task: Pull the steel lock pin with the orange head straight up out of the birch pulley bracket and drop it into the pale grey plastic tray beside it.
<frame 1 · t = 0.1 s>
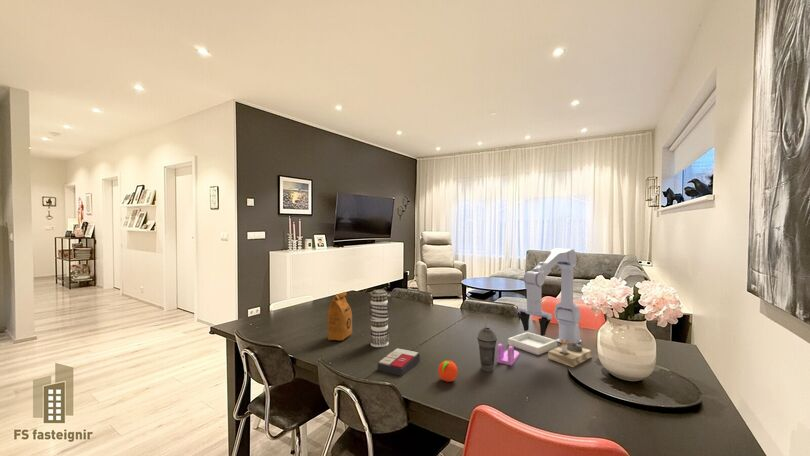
hand: (534, 332, 134), 10 cm above the table, tool pointing down, fingers open, 7 cm apart
flat product box: (399, 366, 128), on the table
bracket: (509, 359, 134), on the table
coffee package: (340, 338, 161), on the table
clementine: (447, 381, 114), on the table
tray: (532, 345, 147), on the table
grey striped cylinder: (379, 344, 152), on the table
lock pin: (564, 360, 130), resting in pulley bracket
pulley bracket: (569, 358, 133), on the table
beverage cup: (487, 369, 124), on the table
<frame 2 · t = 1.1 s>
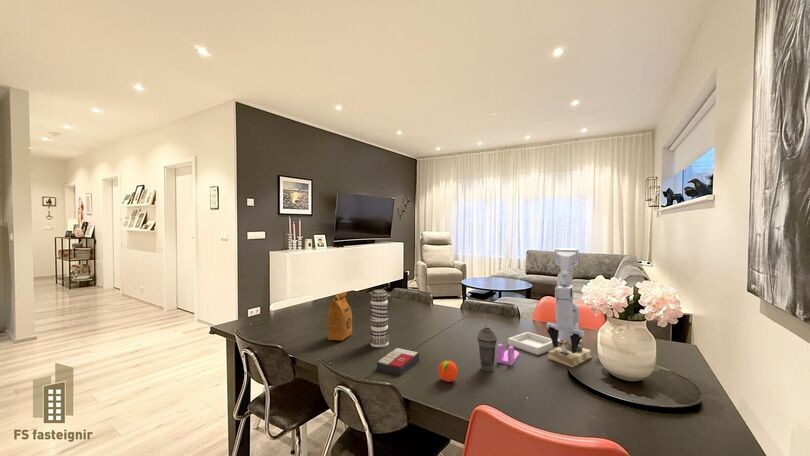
hand: (564, 349, 130), 4 cm above the table, tool pointing down, fingers open, 7 cm apart
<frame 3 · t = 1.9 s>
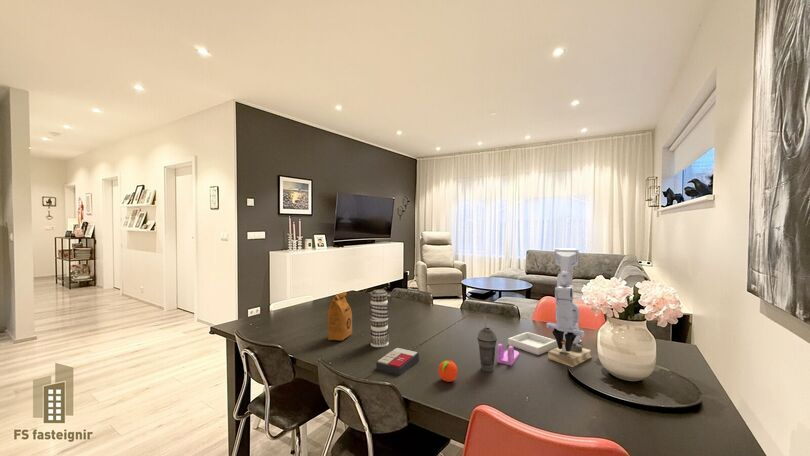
hand: (564, 349, 130), 4 cm above the table, tool pointing down, fingers closed on lock pin, 3 cm apart
lock pin: (564, 360, 130), resting in pulley bracket, touching gripper
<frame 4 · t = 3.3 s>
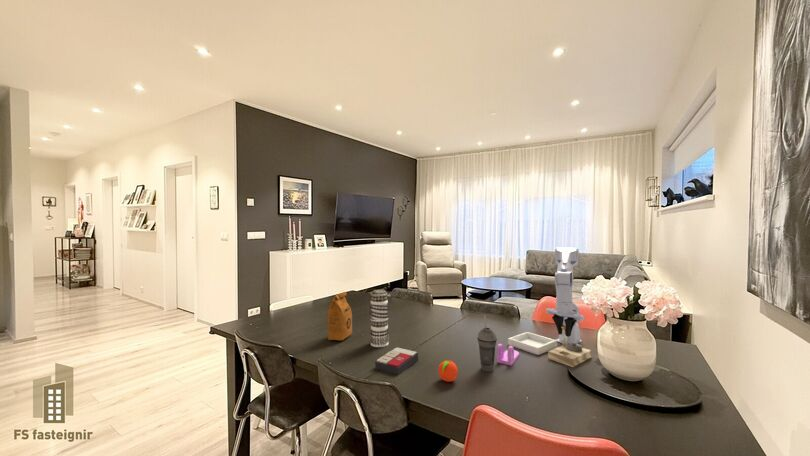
hand: (564, 334, 130), 10 cm above the table, tool pointing down, fingers closed on lock pin, 3 cm apart
lock pin: (564, 345, 130), point 6 cm above the table, touching gripper
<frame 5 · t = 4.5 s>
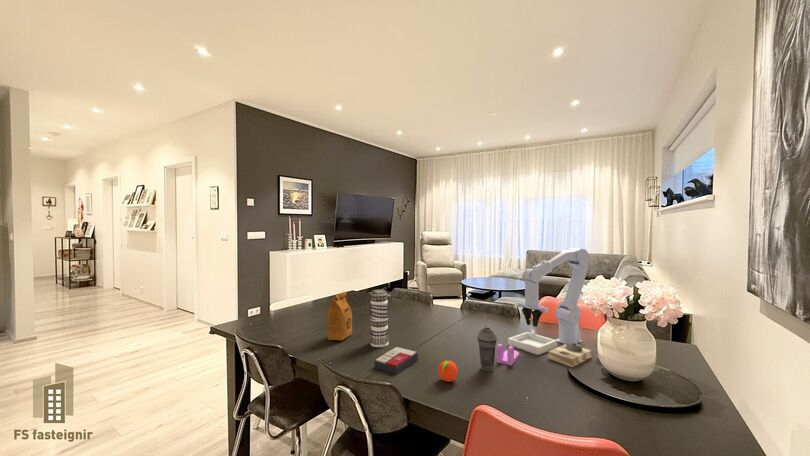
hand: (532, 325, 146), 9 cm above the table, tool pointing down, fingers closed on lock pin, 3 cm apart
lock pin: (533, 335, 146), point 5 cm above the table, touching gripper
when the fingers open (7 cm above the table, at t = 5.1 s): lock pin drops 2 cm, resting on tray.
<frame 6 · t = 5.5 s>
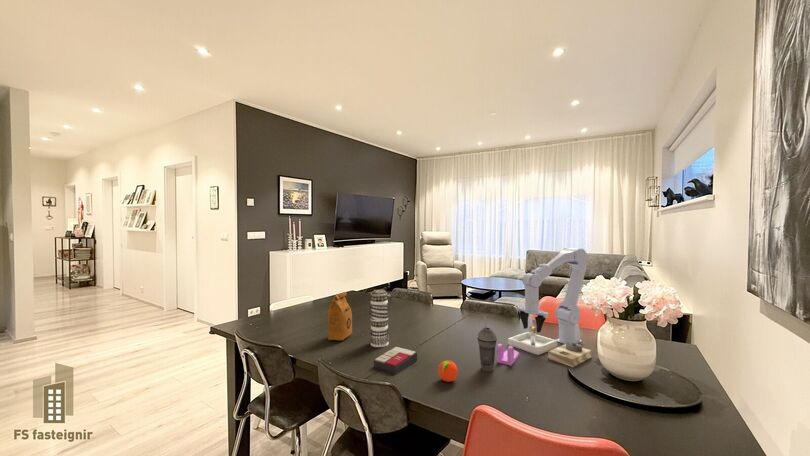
hand: (532, 330, 147), 7 cm above the table, tool pointing down, fingers open, 6 cm apart
lock pin: (533, 344, 146), point 1 cm above the table, touching tray
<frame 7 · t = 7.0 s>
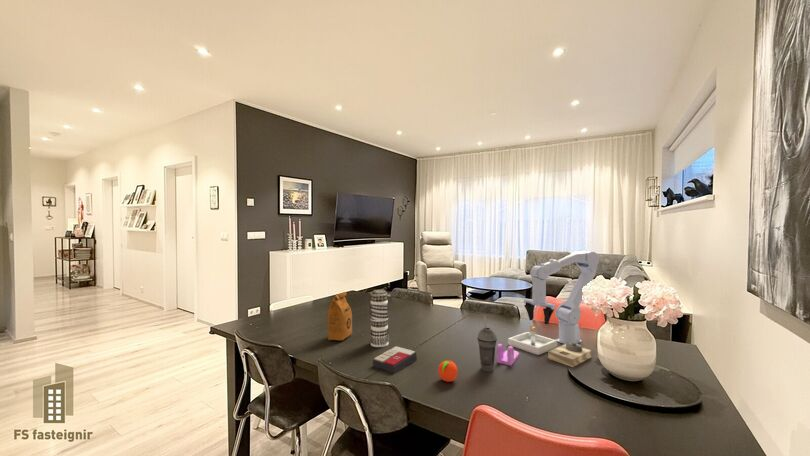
hand: (538, 321, 148), 10 cm above the table, tool pointing down, fingers open, 7 cm apart
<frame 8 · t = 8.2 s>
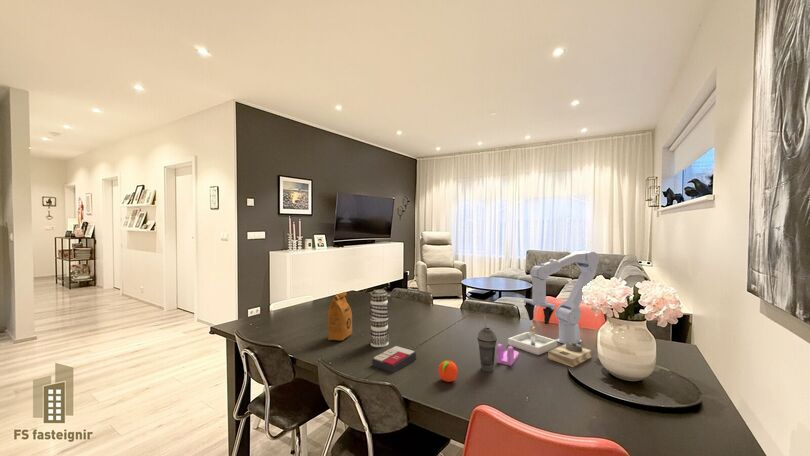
hand: (538, 321, 148), 10 cm above the table, tool pointing down, fingers open, 7 cm apart
at the end: lock pin inside the target area on the tray (0.5 cm from its centre), point 0.6 cm above the tray's base; the gripper is holding nothing; lock pin moved 17.0 cm from its start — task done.
